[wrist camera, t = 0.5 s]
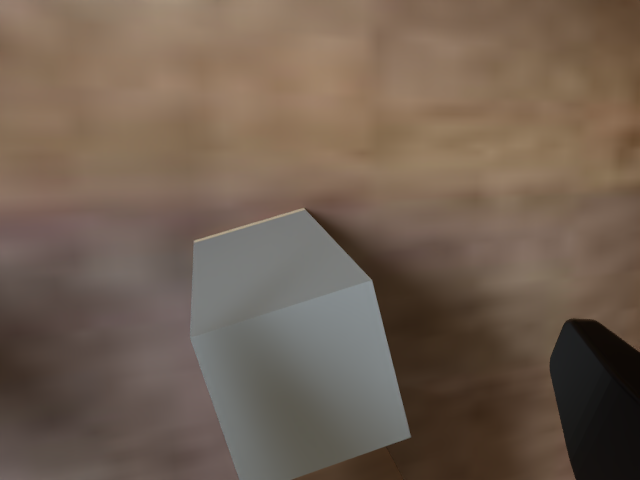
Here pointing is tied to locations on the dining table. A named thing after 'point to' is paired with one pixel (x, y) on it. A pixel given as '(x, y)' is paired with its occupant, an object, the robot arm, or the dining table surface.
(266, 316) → the gray block
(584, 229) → the dining table surface
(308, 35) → the dining table surface
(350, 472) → the walnut block
